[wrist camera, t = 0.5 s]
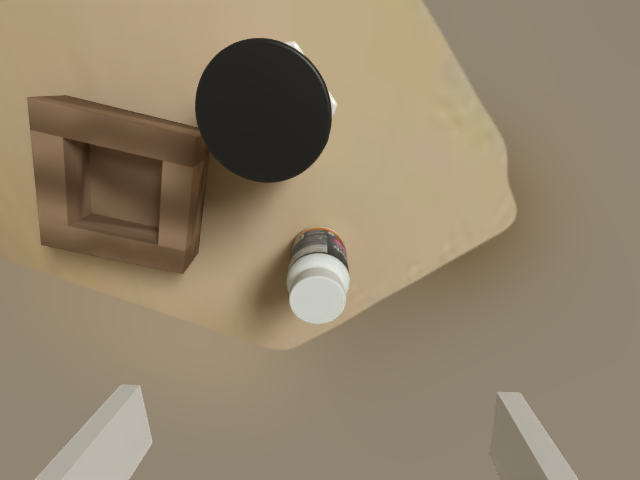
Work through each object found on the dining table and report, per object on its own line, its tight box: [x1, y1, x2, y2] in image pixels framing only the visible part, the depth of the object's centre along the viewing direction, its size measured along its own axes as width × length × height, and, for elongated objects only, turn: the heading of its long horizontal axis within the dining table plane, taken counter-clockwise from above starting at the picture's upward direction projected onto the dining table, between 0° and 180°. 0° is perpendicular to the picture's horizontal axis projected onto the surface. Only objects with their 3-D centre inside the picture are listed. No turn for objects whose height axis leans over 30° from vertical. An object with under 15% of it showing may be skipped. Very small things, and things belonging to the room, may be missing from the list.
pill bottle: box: [286, 227, 350, 324], centre depth 33 cm, size 6×6×10 cm
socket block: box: [27, 95, 209, 274], centre depth 32 cm, size 13×13×4 cm
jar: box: [195, 38, 337, 183], centre depth 26 cm, size 9×8×12 cm
